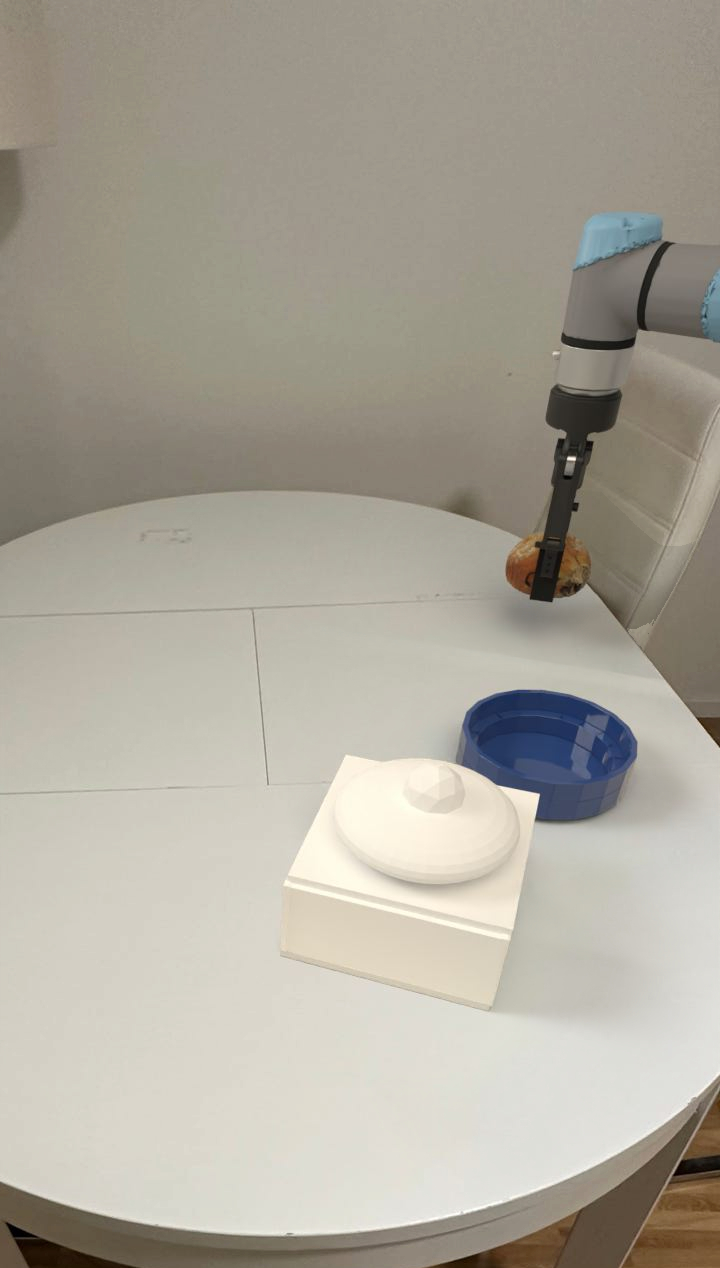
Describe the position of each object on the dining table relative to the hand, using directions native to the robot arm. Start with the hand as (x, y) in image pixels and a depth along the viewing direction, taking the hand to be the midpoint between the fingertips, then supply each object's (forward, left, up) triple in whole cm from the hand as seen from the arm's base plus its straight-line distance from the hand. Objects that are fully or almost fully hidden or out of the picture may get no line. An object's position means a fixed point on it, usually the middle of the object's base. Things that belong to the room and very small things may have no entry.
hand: (545, 581), depth 113 cm
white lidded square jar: (+5, +55, -8) cm, 56 cm away
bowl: (-4, +30, -8) cm, 31 cm away
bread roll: (0, 0, 0) cm, 0 cm away
